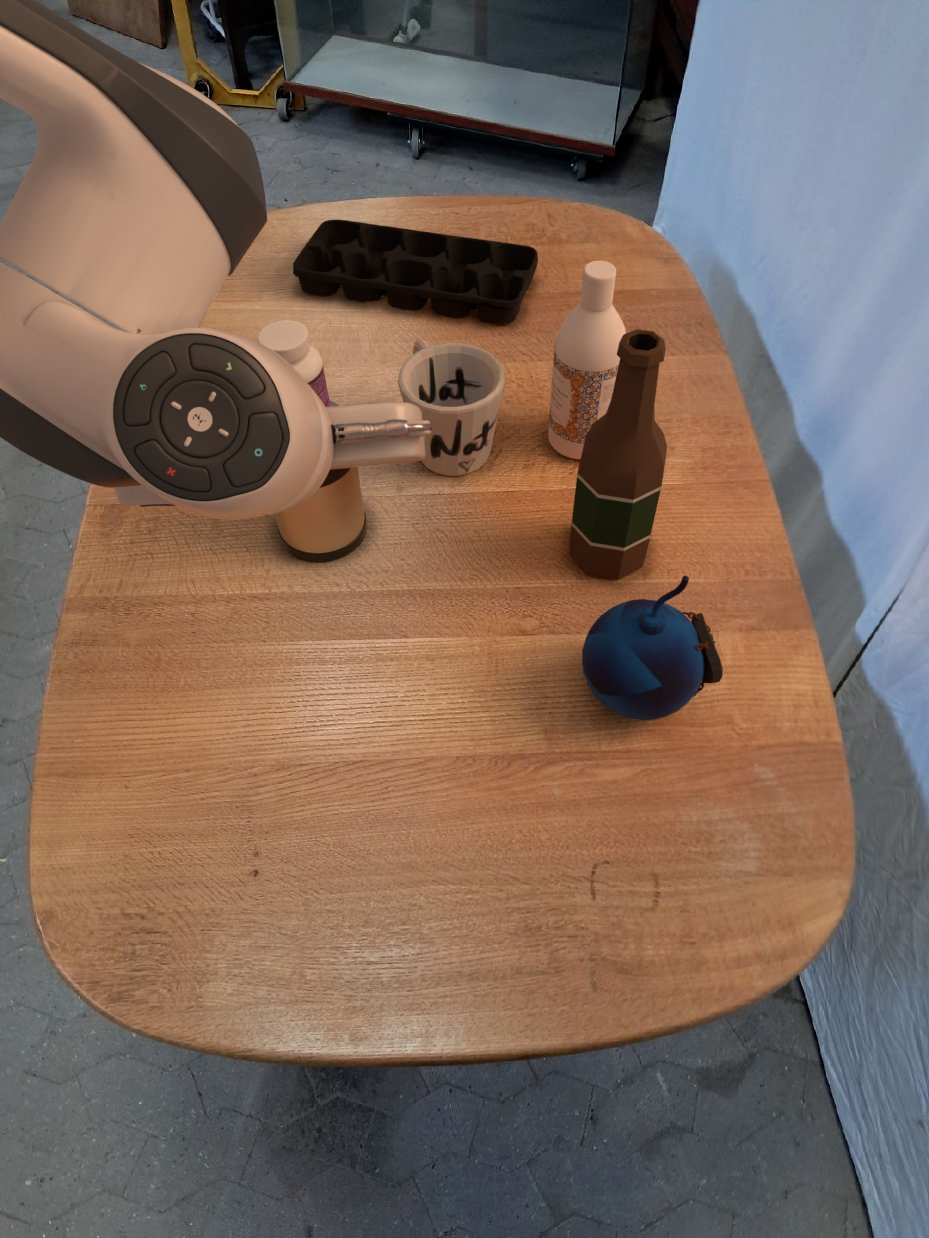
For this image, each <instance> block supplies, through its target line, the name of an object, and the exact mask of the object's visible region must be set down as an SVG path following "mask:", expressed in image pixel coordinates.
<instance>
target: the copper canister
mask: <svg viewBox="0 0 929 1238" xmlns="http://www.w3.org/2000/svg"><path fill="white" fill-rule="evenodd" d="M330 406H331V407H332V406H340V405H339V404H338V403H336V402H334V401H332V400H330ZM358 468H359V467H354V468H343V469H331V470H329V472H328V475H327V477H326V478H325V480H324V482H323V483H322V485H321V486H320V488H319V489H318V490H317V491H316V492H315V493H314V494H313V495H312V496H311V497H310V498H309V499H308V500H306V501H305V502H303V503H302V504H300V505H299V506H297V507H295V508H292V509H290V510H287V511H284V512H281V513H276V514H274V516H275V520H276V524H277V532H278V536H279V540H280V543H281V544H282V547H283V548H284V549H285V550H286V551H287V552H288V553H289V554H291V555H292V557H293V556H294V557H295V558H297V559H299V560H302V561H306V562H310V563H327V562H332V561H335V560H339V559H341V558H344V557H346V556H348V555H349V554H351V553H352V552H354V551H355V550H357V548H358V547H359V546H360V545H361V544H362V543H363V541H364V539H365V536H366V535H367V529H368V521H367V515H366V512H365V511H366V510H365V508H364V503H363V495H362V494H363V493H362V489H361V488H362V487H361V482H360V475H359V469H358Z"/></svg>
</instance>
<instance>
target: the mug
mask: <svg viewBox="0 0 929 1238" xmlns="http://www.w3.org/2000/svg"><path fill="white" fill-rule="evenodd" d="M397 378H398V380H397V384H398V388H399V392H400V395H401V398H402V402H403V403H411V404H414V405H416V406H418V407H419V408H420V410H421V412H422V420H423V421H430V425H431V426H432V430H431V434H430V435H429V436H424V441H425V454H426V455H425V458H424V459H423V460H421V463H422V464H423V465H424V466H425V468H426V469H428V470H430V471H432V472H433V473H435V474H439V475H442V476H446V477H452V476H453V477H459V476H464V475H469V474H471V473H473V472H476V471H478V470H479V469H480V468H481V467H482V466H484V465H485V464H486V463H487V461H488V458H489V457H490V455H491V453H492V452H491V451H492V446H493V441H494V437H495V434H496V433H495V432H496V428H497V423H498V418H499V413H500V409H501V404H502V399H503V394H504V390H505V385H506V372H505V370H504V368H503V366H502V364H501V361H500V360H499V359H498V358H497V357H496V356H494V355H493V354H492V352H490V351H488V350H486V349H483V348H481V347H479V346H477V345H472V344H468V343H465V342H464V343H463V342H444V343H439V344H438V343H437V344H433V345H429V343H428V342H427V341H426V340H425V339H421V338H420V339H417V340H415V341H414V342H413V346H412V354H411V356H409V357H408V358H407V359H405V360H404V362H403V364H402V366H401V367H400V368H399V372H398V377H397Z"/></svg>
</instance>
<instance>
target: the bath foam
mask: <svg viewBox="0 0 929 1238" xmlns="http://www.w3.org/2000/svg"><path fill="white" fill-rule="evenodd" d="M616 279H617V268H616V266H615V265H614V264H612V263H611V262H610V261H609V262H608V261H606V260H592V261H590V262H588V263H587V264H585V265H584V267H583V270H582V279H581V280H582V281H581V289H580V290H581V291H580V301H579V302H578V303H577V304H576V305H575V306H574V307H573V309H571V310H570V312H569V313H568V314H567V315H566V317H565V318H564V320H563V321H562V323H561V325H560V326H559V329H558V331H557V334H556V337H555V343H554V349H553V361H552V363H553V364H552V372H551V373H552V374H551V375H552V376H551V386H550V387H551V389H550V401H549V414H548V429H547V438H548V441H549V443H550V445H551V446H552V448H553V449H554V450H555V451H556V452H557V453H559V454H560V455H562V456H564V457H566V458H569V459H572V460H573V459H574V460H580V459H581V455H582V450H583V446H584V442H585V437H586V434H587V433H588V431H589V429H590V428H591V426H592V425H593V423H594V422H596V421H597V420H598V419H600V418H601V417H602V416H603V415H605V414H606V412H607V409H608V407H609V404H610V401H611V398H612V393H613V389H614V384H615V380H616V375H617V371H618V366H619V361H620V357H618V356H617V351H618V346H619V342H620V340H621V338H622V336H623V335H624V334H626V333H627V331H626V327H625V325H624V322H623V320H622V318H621V316H620V315H619V313H618V311H617V309H616V308H615V306H614V304H613V300H614V292H615V284H616Z"/></svg>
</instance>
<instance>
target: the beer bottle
mask: <svg viewBox="0 0 929 1238" xmlns="http://www.w3.org/2000/svg"><path fill="white" fill-rule="evenodd" d="M666 351H667V348H666V342H665V339H664V338H663V337H661V336H660V335H659V334H658V333H656V332H655V331H654V330H647V329H640V328H639V329H638V328H636V329H633V330H631V331H629V332H626V334H624V335H623V336H622V338H621V340H620V342H619V346H618V351H617V356H618V357H620V361H619V366H618V371H617V375H616V380H615V384H614V389H613V393H612V398H611V401H610V404H609V407H608V409H607V412H606V414H605V415H603V416H602V417H601V418H600V419H598V420H597V421H596V422H594V423H593V425H592V426H591V428H590V429H589V431H588V433H587V434H586V437H585V442H584V446H583V450H582V455H581V459H579V465H578V469H577V474H576V480H575V481H576V482H575V491H574V500H573V508H572V516H571V525H570V532H569V533H570V534H569V543H568V555H569V556H570V558H571V559H572V560H573V561H574V562H575V563H576V564H577V566H579V568H581V570H582V571H583V572H584V573H585V574H586V575H587V576H591V577H595V578H601V579H608V580H614V581H618V580H620V579H622V578H624V577H626V576H628V575H630V574H632V573H634V572H635V571H636V572H637V570H639V569H641V568H642V567H643V566H644V564H645V560H646V558H647V554H648V549H649V545H650V540H651V536H652V532H653V531H652V530H653V526H654V523H655V518H656V515H657V508H658V504H659V500H660V495H661V492H662V491H661V490H662V487H663V481H664V480H663V479H664V473H665V467H666V459H667V450H668V444H667V441H666V437H665V433H664V432H663V430H662V428H661V427H660V426H659V424H658V423H657V421H656V418H655V417H656V416H655V415H656V414H655V412H656V411H655V406H656V405H655V404H656V396H657V387H658V379H659V370H660V363H663V362H664V361H665V356H666Z"/></svg>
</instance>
